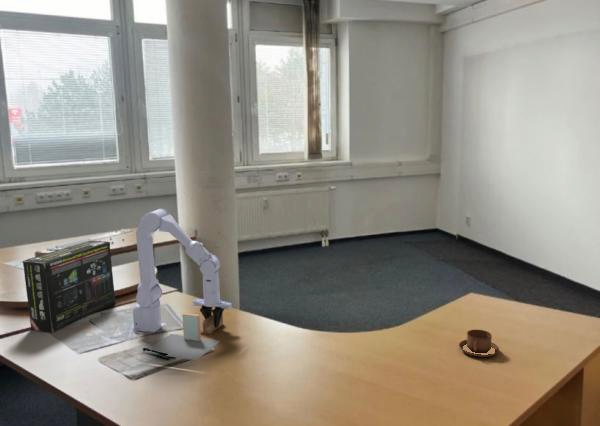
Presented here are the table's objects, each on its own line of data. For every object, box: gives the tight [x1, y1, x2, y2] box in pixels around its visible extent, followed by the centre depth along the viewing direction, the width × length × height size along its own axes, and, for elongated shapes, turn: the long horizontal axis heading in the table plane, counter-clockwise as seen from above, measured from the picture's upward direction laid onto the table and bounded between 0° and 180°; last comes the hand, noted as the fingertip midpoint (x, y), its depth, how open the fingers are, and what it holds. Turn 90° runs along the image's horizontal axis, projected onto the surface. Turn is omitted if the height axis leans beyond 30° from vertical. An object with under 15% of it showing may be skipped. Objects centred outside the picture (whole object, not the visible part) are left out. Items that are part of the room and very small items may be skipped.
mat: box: [142, 333, 221, 361], centre depth 176 cm, size 20×16×1 cm
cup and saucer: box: [458, 329, 500, 358], centre depth 168 cm, size 12×12×6 cm
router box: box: [22, 240, 117, 333], centre depth 206 cm, size 36×11×27 cm, turn 160°
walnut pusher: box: [202, 312, 224, 335], centre depth 190 cm, size 2×10×5 cm, turn 160°
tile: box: [181, 312, 202, 341], centre depth 180 cm, size 6×1×9 cm, turn 70°
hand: (213, 326), depth 191 cm, fingers closed on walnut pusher, 2 cm apart
